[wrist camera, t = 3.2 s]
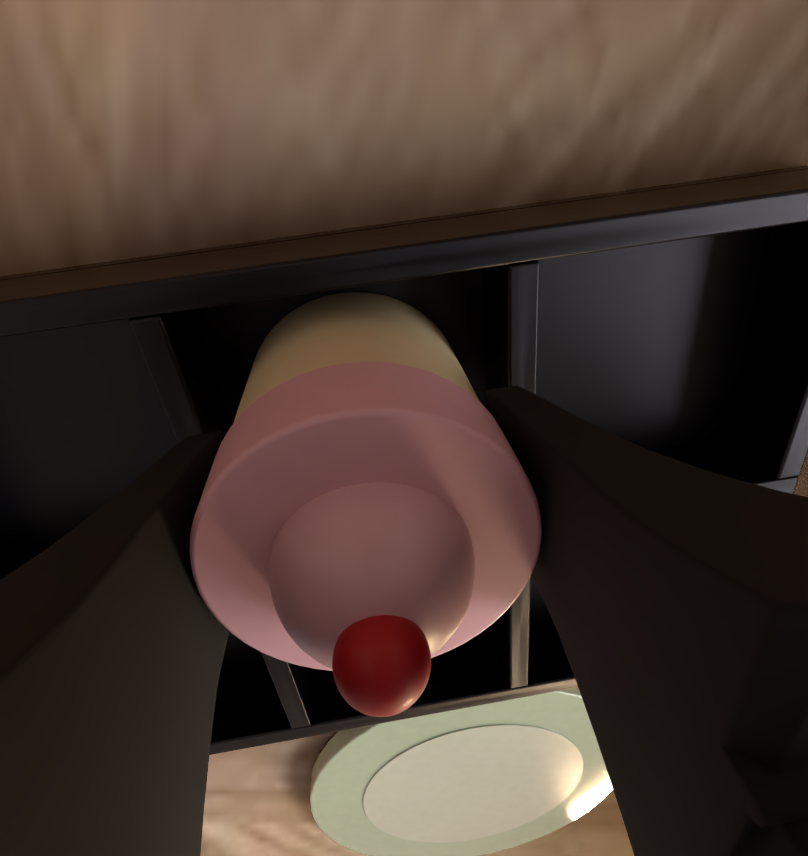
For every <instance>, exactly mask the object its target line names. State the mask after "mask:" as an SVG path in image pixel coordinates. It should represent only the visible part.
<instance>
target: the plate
mask: <svg viewBox="0 0 808 856" xmlns="http://www.w3.org/2000/svg"><path fill="white" fill-rule="evenodd" d="M612 790H613V787H612V784H611V781H610V778H609V775H608V772H607V769H606V766H605V763H604V760H603V757H602V754H601V751H600V748H599V745H598V742H597V739H596V736H595V733H594V731H593V728H592V725H591V722H590V719H589V716H588V714H587V711H586V708H585V705H584V702H583V699H582V697H581V694H580V691H579V688H578V687H577V688H572V689H567V690H561V691H556V692H550V693H545V694H539V695H534V696H528V697H523V698H517V699H512V700H506V701H501V702H495V703H490V704H485V705H479V706H474V707H468V708H463V709H457V710H452V711H446V712H441V713H435V714H430V715H424V716H419V717H413V718H408V719H402V720H397V721H392V722H386V723H381V724H375V725H370V726H364V727H359V728H353V729H348V730H342V731H338V732H337V733H336V734H335V735H334V736H333V737H332V738H331V739H330V740H329V741H328V743H327V744H326V746H325V747H324V748H323V750H322V751H321V752H320V754H319V756H318V758H317V760H316V762H315V764H314V767H313V771H312V775H311V784H310V808H311V811H312V815H313V818H314V820H315V822H316V823H317V825H318V827H319V828H320V829H321V830H322V831H323V832H324V833H325V834H326V835H327V836H328V837H329V838H331V839H332V840H333V841H335V842H336V843H338V844H340V845H342V846H344V847H346V848H348V849H350V850H353V851H355V852H358V853H361V854H365V855H369V856H481V855H485V854H489V853H494V852H498V851H502V850H505V849H509V848H512V847H516V846H518V845H521V844H524V843H527V842H530V841H533V840H535V839H538V838H540V837H542V836H545V835H547V834H549V833H551V832H554V831H556V830H558V829H560V828H562V827H564V826H565V825H567V824H569V823H571V822H572V821H574V820H576V819H578V818H579V817H581V816H582V815H584V814H585V813H587V812H588V811H589V810H591V809H592V808H593V807H595V806H596V805H597V804H598V803H600V802H601V801H602V800H603V799H604V798H605V797H606V796H607V795H608V794H609V793H610V792H611V791H612Z"/></svg>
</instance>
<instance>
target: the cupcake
mask: <svg viewBox="0 0 808 856" xmlns="http://www.w3.org/2000/svg"><path fill="white" fill-rule="evenodd" d="M541 535H542V526H541V512H540V508H539V504H538V499H537V496H536V494H535V491H534V489H533V487H532V484H531V482H530V480H529V478H528V476H527V475H526V473H525V471H524V469H523V467H522V466H521V464H520V462H519V460H518V458H517V456H516V455H515V453H514V451H513V449H512V447H511V446H510V444H509V442H508V440H507V438H506V437H505V435H504V433H503V431H502V430H501V428H500V426H499V425H498V423H497V422H496V420H495V419H494V417H493V416H492V415H491V413H490V412H489V411H488V410H487V409H486V408H485V407H484V406H483V404H482V403H481V402H480V401H479V399H478V397H477V395H476V393H475V391H474V390H473V388H472V386H471V384H470V382H469V380H468V378H467V376H466V375H465V373H464V371H463V369H462V367H461V365H460V363H459V361H458V359H457V358H456V356H455V354H454V352H453V350H452V348H451V346H450V344H449V343H448V341H447V340H446V338H445V337H444V335H443V333H442V332H441V331H440V330H439V329H438V328H437V326H436V325H435V324H434V323H433V322H432V321H431V320H430V319H428V318H427V317H426V316H425V315H424V314H423V313H421V312H420V311H418V310H417V309H415V308H413V307H412V306H410V305H408V304H406V303H404V302H402V301H400V300H397V299H394V298H391V297H388V296H385V295H379V294H374V293H366V292H347V293H338V294H333V295H328V296H324V297H321V298H318V299H315V300H312V301H310V302H308V303H306V304H304V305H302V306H300V307H298V308H296V309H295V310H294V311H292V312H291V313H289V314H288V315H286V316H285V317H284V318H283V319H282V320H281V321H280V322H279V323H277V324H276V325H275V326H274V328H273V329H272V330H271V331H270V332H269V334H268V335H267V336H266V338H265V339H264V341H263V343H262V344H261V346H260V348H259V350H258V352H257V355H256V357H255V360H254V362H253V365H252V368H251V371H250V374H249V377H248V380H247V383H246V387H245V390H244V393H243V396H242V399H241V402H240V405H239V408H238V411H237V414H236V417H235V420H234V423H233V425H232V426H231V427H230V429H229V431H228V432H227V434H226V436H225V437H224V439H223V441H222V442H221V444H220V447H219V449H218V452H217V454H216V457H215V459H214V462H213V465H212V468H211V470H210V473H209V476H208V479H207V482H206V485H205V487H204V490H203V493H202V496H201V499H200V502H199V505H198V507H197V510H196V513H195V516H194V519H193V524H192V529H191V533H190V549H189V556H190V562H191V568H192V573H193V577H194V580H195V582H196V585H197V588H198V591H199V593H200V595H201V597H202V598H203V600H204V602H205V604H206V605H207V607H208V608H209V610H210V611H211V612H212V614H213V615H214V616H215V617H216V619H217V620H218V621H219V622H220V623H221V624H222V625H223V626H224V627H225V628H226V629H228V630H229V631H230V632H231V633H232V634H233V635H235V636H236V637H237V638H239V639H240V640H242V641H243V642H244V643H246V644H248V645H249V646H251V647H253V648H255V649H257V650H258V651H260V652H262V653H264V654H267V655H269V656H272V657H274V658H276V659H279V660H282V661H285V662H288V663H292V664H295V665H299V666H304V667H309V668H313V669H320V670H329V671H333V676H334V680H335V683H336V686H337V688H338V690H339V692H340V694H341V695H342V697H343V698H344V699H345V701H346V702H347V703H348V704H349V705H350V706H352V707H353V708H354V709H356V710H357V711H359V712H361V713H363V714H365V715H369V716H374V717H389V716H393V715H396V714H399V713H401V712H403V711H405V710H406V709H408V708H409V707H410V706H412V705H413V704H414V703H415V702H416V701H417V700H418V698H419V697H420V696H421V694H422V693H423V691H424V689H425V687H426V685H427V682H428V679H429V676H430V670H431V658H433V657H435V656H438V655H440V654H443V653H445V652H448V651H450V650H452V649H454V648H456V647H458V646H460V645H462V644H464V643H465V642H467V641H469V640H470V639H472V638H473V637H475V636H477V635H478V634H480V633H481V632H482V631H484V630H485V629H486V628H488V627H489V626H490V625H492V624H493V623H494V622H495V621H496V620H497V619H498V618H499V617H501V616H502V615H503V614H504V613H505V612H506V611H507V610H508V609H509V607H510V606H511V605H512V604H513V603H514V601H515V600H516V599H517V598H518V597H519V595H520V594H521V592H522V590H523V589H524V587H525V586H526V584H527V583H528V581H529V578H530V576H531V574H532V572H533V570H534V568H535V565H536V561H537V558H538V554H539V551H540V543H541Z"/></svg>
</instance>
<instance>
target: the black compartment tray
mask: <svg viewBox="0 0 808 856" xmlns="http://www.w3.org/2000/svg"><path fill="white" fill-rule="evenodd" d="M347 292H366V293H374V294H379V295H385V296H388V297H391V298H394V299H397V300H400V301H402V302H404V303H406V304H408V305H410V306H412V307H413V308H415V309H417V310H418V311H420V312H421V313H423V314H424V315H425V316H426V317H427V318H428V319H430V320H431V321H432V322H433V323H434V324H435V325H436V326H437V328H438V329H439V330H440V331H441V332H442V333H443V335H444V337H445V338H446V340H447V341H448V343H449V344H450V346H451V348H452V350H453V352H454V354H455V356H456V358H457V359H458V361H459V363H460V365H461V367H462V369H463V371H464V373H465V375H466V376H467V378H468V380H469V382H470V384H471V386H472V388H473V390H474V391H475V393H476V395H477V397H478V399H479V401H480V402H481V403H482V404H483V406H484V407H485V408H486V390H491V389H497V388H504V387H510V386H519V387H521V388H523V389H526V390H528V391H530V392H532V393H534V394H535V395H537V396H539V397H541V398H543V399H545V400H547V401H549V402H550V403H552V404H554V405H556V406H558V407H560V408H562V409H564V410H565V411H567V412H569V413H571V414H573V415H575V416H577V417H579V418H581V419H583V420H585V421H587V422H589V423H591V424H593V425H595V426H597V427H599V428H601V429H603V430H605V431H607V432H609V433H611V434H614V435H616V436H618V437H620V438H623V439H625V440H627V441H630V442H632V443H634V444H636V445H639V446H641V447H643V448H646V449H648V450H651V451H653V452H656V453H658V454H661V455H664V456H667V457H669V458H672V459H675V460H678V461H681V462H684V463H686V464H689V465H692V466H695V467H698V468H701V469H704V470H707V471H710V472H713V473H717V474H720V475H723V476H726V477H730V478H733V479H737V480H741V481H744V482H748V483H752V484H755V485H759V486H763V487H766V488H770V489H774V490H778V491H782V492H786V493H791V494H793V491H794V489H795V486H796V483H797V480H798V475H799V474H800V472H801V469H802V466H803V463H804V460H805V458H806V455H807V452H808V166H801V167H794V168H786V169H779V170H772V171H764V172H757V173H750V174H743V175H735V176H728V177H721V178H714V179H706V180H699V181H692V182H685V183H677V184H670V185H663V186H655V187H648V188H641V189H634V190H626V191H619V192H612V193H605V194H597V195H590V196H583V197H576V198H568V199H561V200H554V201H546V202H539V203H532V204H525V205H517V206H510V207H503V208H496V209H488V210H481V211H474V212H467V213H459V214H452V215H445V216H437V217H430V218H423V219H416V220H408V221H401V222H394V223H387V224H379V225H372V226H365V227H358V228H350V229H343V230H336V231H328V232H321V233H314V234H307V235H299V236H292V237H285V238H278V239H270V240H263V241H256V242H249V243H241V244H234V245H227V246H219V247H212V248H205V249H198V250H190V251H183V252H176V253H169V254H161V255H154V256H147V257H140V258H132V259H125V260H118V261H111V262H103V263H96V264H89V265H81V266H74V267H67V268H60V269H52V270H45V271H38V272H31V273H23V274H16V275H9V276H2V277H0V580H1V579H3V578H4V577H6V576H7V575H9V574H10V573H12V572H13V571H15V570H16V569H18V568H19V567H21V566H22V565H24V564H25V563H27V562H28V561H30V560H31V559H33V558H34V557H36V556H37V555H38V554H40V553H41V552H43V551H44V550H46V549H47V548H48V547H50V546H51V545H53V544H54V543H55V542H57V541H58V540H59V539H61V538H62V537H64V536H65V535H66V534H68V533H69V532H70V531H71V530H73V529H74V528H75V527H76V526H78V525H79V524H80V523H82V522H83V521H84V520H85V519H87V518H88V517H89V516H91V515H92V514H93V513H94V512H96V511H97V510H98V509H99V508H101V507H102V506H103V505H105V504H106V503H107V502H108V501H110V500H111V499H112V498H113V497H115V496H116V495H117V494H118V493H119V492H121V491H122V490H123V489H124V488H125V487H127V486H128V485H129V484H130V483H131V482H132V481H134V480H135V479H136V478H137V477H138V476H140V475H141V474H142V473H143V472H144V471H145V470H147V469H148V468H149V467H150V466H151V465H152V464H154V463H155V462H156V461H157V460H158V459H160V458H161V457H162V456H163V455H164V454H165V453H167V452H168V451H169V450H170V449H172V448H173V447H174V446H175V445H177V444H178V443H179V442H181V441H182V440H184V439H185V438H187V437H188V436H192V435H199V434H205V433H212V432H218V431H221V433H222V436H223V439H224V437H225V436H226V434H227V432H228V431H229V429H230V427H231V426H232V425H233V423H234V420H235V417H236V414H237V411H238V408H239V405H240V402H241V399H242V396H243V393H244V390H245V387H246V383H247V380H248V377H249V374H250V371H251V368H252V365H253V362H254V360H255V357H256V355H257V352H258V350H259V348H260V346H261V344H262V343H263V341H264V339H265V338H266V336H267V335H268V334H269V332H270V331H271V330H272V329H273V328H274V326H275V325H276V324H277V323H279V322H280V321H281V320H282V319H283V318H284V317H285V316H286V315H288V314H289V313H291V312H292V311H294V310H295V309H296V308H298V307H300V306H302V305H304V304H306V303H308V302H310V301H312V300H315V299H318V298H321V297H324V296H328V295H333V294H338V293H347ZM577 687H578V685H577V682H576V680H575V677H574V674H573V672H572V669H571V666H570V664H569V661H568V658H567V655H566V653H565V650H564V647H563V645H562V642H561V639H560V637H559V634H558V631H557V629H556V627H555V624H554V622H553V620H552V618H551V615H550V613H549V611H548V609H547V606H546V604H545V602H544V600H543V598H542V596H541V594H540V592H539V590H538V588H537V586H536V584H535V582H534V580H533V578H532V576H530V578H529V581H528V583H527V584H526V586H525V587H524V589H523V590H522V592H521V594H520V595H519V597H518V598H517V599H516V600H515V601H514V603H513V604H512V605H511V606H510V607H509V609H508V610H507V611H506V612H505V613H504V614H503V615H502V616H501V617H499V618H498V619H497V620H496V621H495V622H494V623H493V624H492V625H490V626H489V627H488V628H486V629H485V630H484V631H482V632H481V633H480V634H478V635H477V636H475V637H473V638H472V639H470V640H469V641H467V642H465V643H464V644H462V645H460V646H458V647H456V648H454V649H452V650H450V651H448V652H445V653H443V654H440V655H438V656H435V657H433V658H431V670H430V676H429V679H428V682H427V685H426V687H425V689H424V691H423V693H422V694H421V696H420V697H419V698H418V700H417V701H416V702H415V703H414V704H413V705H412V706H410V707H409V708H408V709H406V710H405V711H403V712H401V713H399V714H396V715H393V716H389V717H374V716H369V715H365V714H363V713H361V712H359V711H357V710H356V709H354V708H353V707H352V706H350V705H349V704H348V703H347V702H346V701H345V699H344V698H343V697H342V695H341V694H340V692H339V690H338V688H337V686H336V683H335V680H334V676H333V671H329V670H320V669H313V668H309V667H304V666H299V665H295V664H292V663H288V662H285V661H282V660H279V659H276V658H274V657H272V656H269V655H267V654H264V653H262V652H260V651H258V650H257V649H255V648H253V647H251V646H249V645H248V644H246V643H244V642H243V641H242V640H240V639H239V638H237V637H236V636H235V635H233V634H232V633H231V632H230V631H229V635H228V639H227V644H226V648H225V652H224V657H223V661H222V665H221V671H220V676H219V682H218V687H217V693H216V701H215V710H214V718H213V726H212V734H211V743H210V752H209V755H211V754H217V753H222V752H228V751H233V750H238V749H244V748H249V747H255V746H260V745H266V744H271V743H277V742H282V741H288V740H293V739H299V738H304V737H310V736H315V735H320V734H326V733H331V732H337V731H342V730H348V729H353V728H359V727H364V726H370V725H375V724H381V723H386V722H392V721H397V720H402V719H408V718H413V717H419V716H424V715H430V714H435V713H441V712H446V711H452V710H457V709H463V708H468V707H474V706H479V705H485V704H490V703H495V702H501V701H506V700H512V699H517V698H523V697H528V696H534V695H539V694H545V693H550V692H556V691H561V690H567V689H572V688H577Z"/></svg>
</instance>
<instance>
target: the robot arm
mask: <svg viewBox="0 0 808 856" xmlns="http://www.w3.org/2000/svg"><path fill="white" fill-rule="evenodd" d="M486 409H487V410H488V411H489V412H490V413H491V415H492V416H493V417H494V419H495V420H496V422H497V423H498V425H499V426H500V428H501V430H502V431H503V433H504V435H505V437H506V438H507V440H508V442H509V444H510V446H511V447H512V449H513V451H514V453H515V455H516V456H517V458H518V460H519V462H520V464H521V466H522V467H523V469H524V471H525V473H526V475H527V476H528V478H529V480H530V482H531V484H532V487H533V489H534V491H535V494H536V496H537V499H538V504H539V508H540V512H541V526H542V535H541V543H540V551H539V554H538V558H537V561H536V565H535V568H534V570H533V572H532V574H531V576H532V578H533V580H534V582H535V584H536V586H537V588H538V590H539V592H540V594H541V596H542V598H543V600H544V602H545V604H546V606H547V609H548V611H549V613H550V615H551V618H552V620H553V622H554V624H555V627H556V629H557V631H558V634H559V637H560V639H561V642H562V645H563V647H564V650H565V653H566V655H567V658H568V661H569V664H570V666H571V669H572V672H573V674H574V677H575V680H576V682H577V685H578V688H579V691H580V694H581V697H582V699H583V702H584V705H585V708H586V711H587V714H588V716H589V719H590V722H591V725H592V728H593V731H594V733H595V736H596V739H597V742H598V745H599V748H600V751H601V754H602V757H603V760H604V763H605V766H606V769H607V772H608V775H609V778H610V781H611V784H612V787H613V790H614V793H615V796H616V799H617V802H618V805H619V808H620V811H621V814H622V817H623V821H624V824H625V827H626V830H627V833H628V836H629V840H630V843H631V846H632V849H633V852H634V855H635V856H808V497H803V496H799V495H795V494H791V493H786V492H782V491H778V490H774V489H770V488H766V487H763V486H759V485H755V484H752V483H748V482H744V481H741V480H737V479H733V478H730V477H726V476H723V475H720V474H717V473H713V472H710V471H707V470H704V469H701V468H698V467H695V466H692V465H689V464H686V463H684V462H681V461H678V460H675V459H672V458H669V457H667V456H664V455H661V454H658V453H656V452H653V451H651V450H648V449H646V448H643V447H641V446H639V445H636V444H634V443H632V442H630V441H627V440H625V439H623V438H620V437H618V436H616V435H614V434H611V433H609V432H607V431H605V430H603V429H601V428H599V427H597V426H595V425H593V424H591V423H589V422H587V421H585V420H583V419H581V418H579V417H577V416H575V415H573V414H571V413H569V412H567V411H565V410H564V409H562V408H560V407H558V406H556V405H554V404H552V403H550V402H549V401H547V400H545V399H543V398H541V397H539V396H537V395H535V394H534V393H532V392H530V391H528V390H526V389H523V388H521V387H519V386H510V387H504V388H497V389H491V390H486ZM222 441H223V436H222V433H221V431H218V432H212V433H205V434H199V435H192V436H188V437H187V438H185V439H184V440H182V441H181V442H179V443H178V444H177V445H175V446H174V447H173V448H172V449H170V450H169V451H168V452H167V453H165V454H164V455H163V456H162V457H161V458H160V459H158V460H157V461H156V462H155V463H154V464H152V465H151V466H150V467H149V468H148V469H147V470H145V471H144V472H143V473H142V474H141V475H140V476H138V477H137V478H136V479H135V480H134V481H132V482H131V483H130V484H129V485H128V486H127V487H125V488H124V489H123V490H122V491H121V492H119V493H118V494H117V495H116V496H115V497H113V498H112V499H111V500H110V501H108V502H107V503H106V504H105V505H103V506H102V507H101V508H99V509H98V510H97V511H96V512H94V513H93V514H92V515H91V516H89V517H88V518H87V519H85V520H84V521H83V522H82V523H80V524H79V525H78V526H76V527H75V528H74V529H73V530H71V531H70V532H69V533H68V534H66V535H65V536H64V537H62V538H61V539H59V540H58V541H57V542H55V543H54V544H53V545H51V546H50V547H48V548H47V549H46V550H44V551H43V552H41V553H40V554H38V555H37V556H36V557H34V558H33V559H31V560H30V561H28V562H27V563H25V564H24V565H22V566H21V567H19V568H18V569H16V570H15V571H13V572H12V573H10V574H9V575H7V576H6V577H4V578H3V579H1V580H0V856H200V852H201V838H202V825H203V812H204V802H205V792H206V782H207V772H208V762H209V752H210V743H211V734H212V726H213V718H214V710H215V701H216V693H217V687H218V682H219V676H220V671H221V665H222V661H223V657H224V652H225V648H226V644H227V639H228V635H229V630H228V629H226V628H225V627H224V626H223V625H222V624H221V623H220V622H219V621H218V620H217V619H216V617H215V616H214V615H213V614H212V612H211V611H210V610H209V608H208V607H207V605H206V604H205V602H204V600H203V598H202V597H201V595H200V593H199V591H198V588H197V585H196V582H195V580H194V577H193V573H192V568H191V562H190V556H189V549H190V533H191V529H192V524H193V519H194V516H195V513H196V510H197V507H198V505H199V502H200V499H201V496H202V493H203V490H204V487H205V485H206V482H207V479H208V476H209V473H210V470H211V468H212V465H213V462H214V459H215V457H216V454H217V452H218V449H219V447H220V444H221V442H222Z"/></svg>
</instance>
